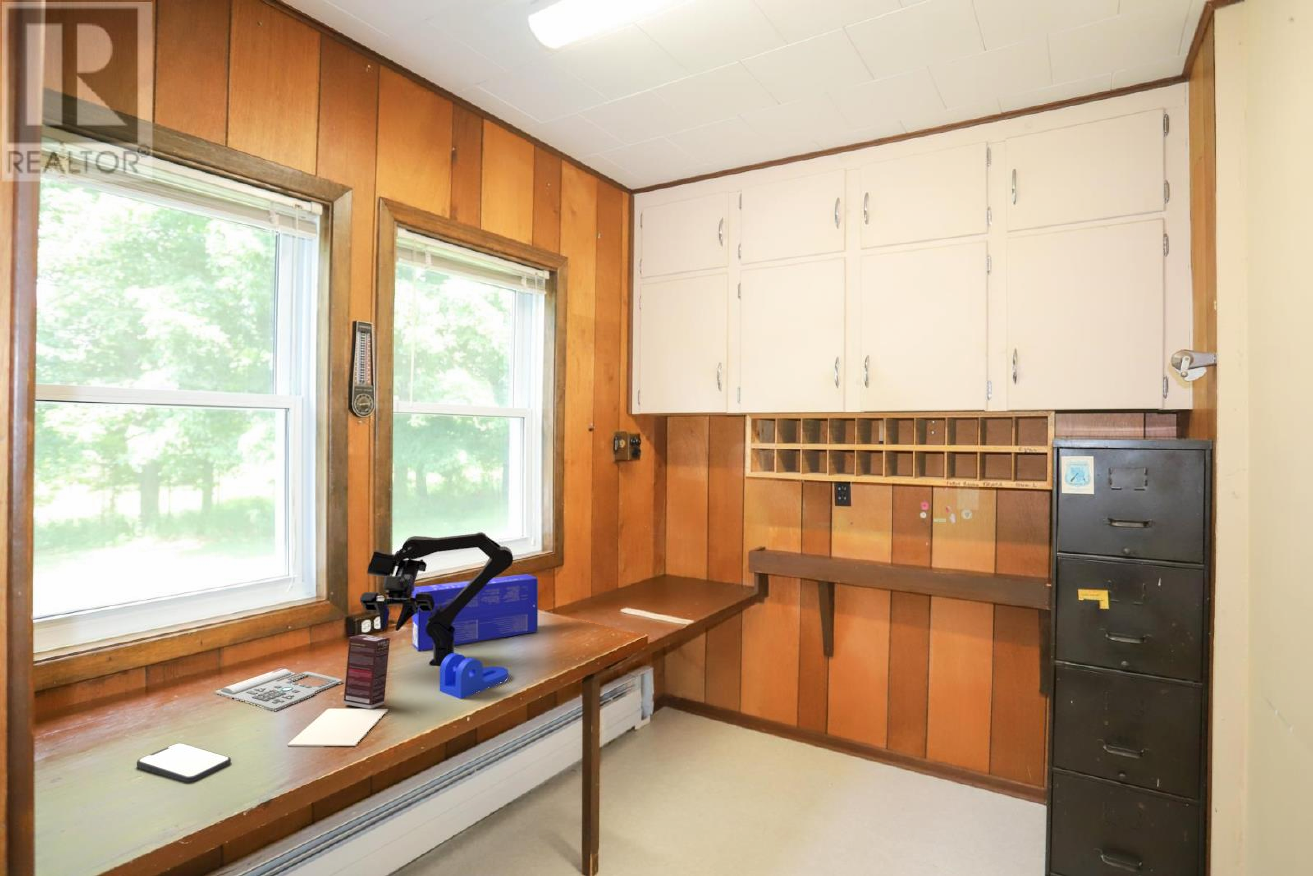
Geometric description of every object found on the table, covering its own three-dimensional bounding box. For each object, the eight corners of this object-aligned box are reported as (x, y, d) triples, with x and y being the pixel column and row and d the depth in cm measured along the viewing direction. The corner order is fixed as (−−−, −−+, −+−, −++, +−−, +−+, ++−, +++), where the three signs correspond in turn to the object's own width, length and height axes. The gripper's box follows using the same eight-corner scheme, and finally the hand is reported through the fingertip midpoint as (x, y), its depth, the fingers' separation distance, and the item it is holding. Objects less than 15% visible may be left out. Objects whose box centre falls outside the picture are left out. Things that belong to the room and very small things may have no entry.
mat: (328, 710, 155) (328, 708, 155) (387, 710, 156) (387, 709, 156) (287, 746, 137) (287, 744, 137) (354, 746, 138) (355, 744, 138)
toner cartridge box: (528, 627, 226) (529, 573, 226) (538, 633, 219) (539, 578, 219) (410, 644, 205) (412, 585, 205) (417, 652, 198) (418, 591, 198)
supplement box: (385, 704, 159) (391, 637, 161) (370, 710, 155) (377, 641, 156) (356, 699, 162) (363, 633, 164) (341, 704, 158) (348, 636, 159)
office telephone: (212, 686, 164) (287, 661, 182) (212, 697, 164) (287, 671, 182) (274, 703, 154) (346, 675, 172) (274, 714, 154) (346, 685, 172)
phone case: (234, 765, 130) (179, 749, 136) (234, 757, 130) (179, 741, 136) (189, 787, 122) (132, 769, 128) (189, 779, 122) (132, 761, 128)
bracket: (460, 699, 163) (461, 663, 163) (439, 691, 168) (440, 656, 168) (514, 678, 178) (515, 645, 178) (493, 671, 183) (494, 639, 183)
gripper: (363, 562, 179) (344, 614, 168) (432, 563, 180) (417, 615, 169) (374, 585, 187) (357, 635, 176) (440, 586, 187) (427, 636, 176)
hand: (389, 630), depth 174 cm, fingers open, 4 cm apart
